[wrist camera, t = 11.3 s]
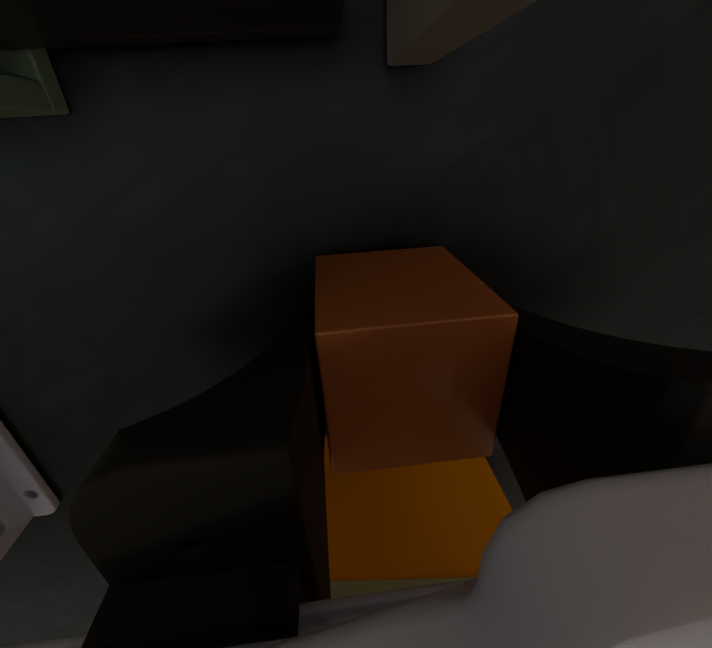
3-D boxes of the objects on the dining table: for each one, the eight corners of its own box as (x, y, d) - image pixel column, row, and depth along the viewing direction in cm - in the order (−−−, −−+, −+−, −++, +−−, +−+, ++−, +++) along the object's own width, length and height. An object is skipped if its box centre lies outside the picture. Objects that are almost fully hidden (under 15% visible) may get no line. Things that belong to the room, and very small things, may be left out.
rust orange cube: (435, 352, 14) (492, 456, 9) (326, 363, 13) (332, 475, 9) (443, 245, 12) (520, 313, 7) (314, 255, 11) (314, 333, 7)
